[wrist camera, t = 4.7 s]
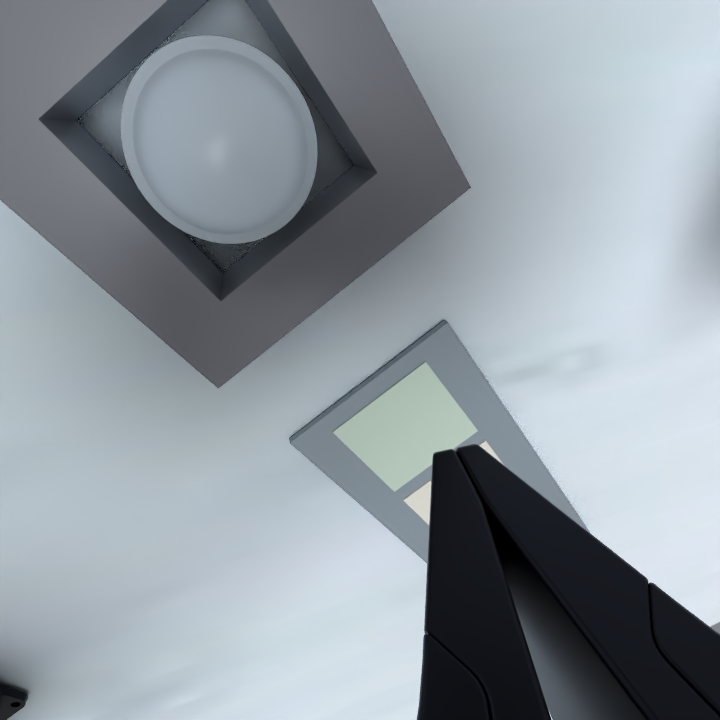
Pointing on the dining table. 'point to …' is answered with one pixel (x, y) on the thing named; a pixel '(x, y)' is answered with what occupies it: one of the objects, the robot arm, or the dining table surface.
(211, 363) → the button box
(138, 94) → the dome
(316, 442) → the track board
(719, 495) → the dining table surface
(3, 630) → the dining table surface
